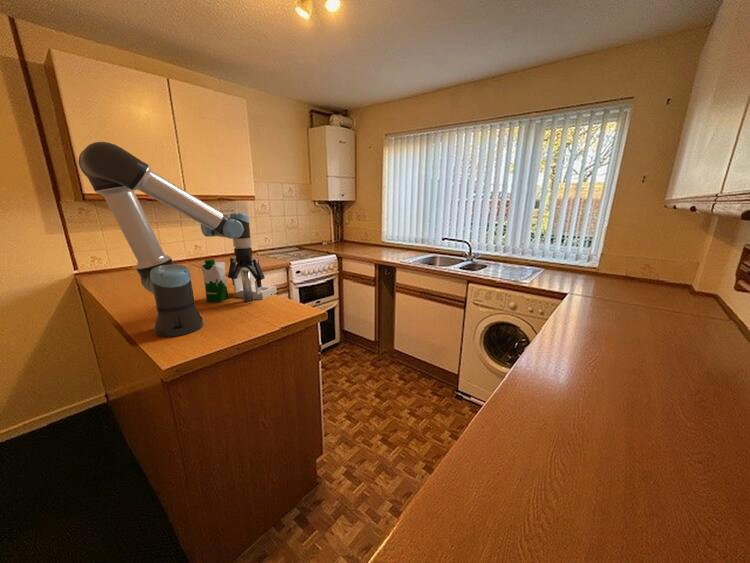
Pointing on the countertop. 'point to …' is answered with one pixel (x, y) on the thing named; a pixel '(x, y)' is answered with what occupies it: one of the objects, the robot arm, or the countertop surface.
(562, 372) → the countertop surface
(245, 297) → the peg
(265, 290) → the l-shaped bracket
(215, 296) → the milk carton
